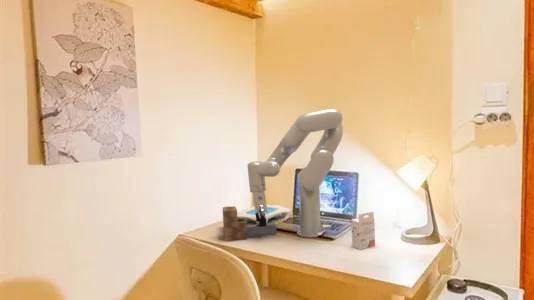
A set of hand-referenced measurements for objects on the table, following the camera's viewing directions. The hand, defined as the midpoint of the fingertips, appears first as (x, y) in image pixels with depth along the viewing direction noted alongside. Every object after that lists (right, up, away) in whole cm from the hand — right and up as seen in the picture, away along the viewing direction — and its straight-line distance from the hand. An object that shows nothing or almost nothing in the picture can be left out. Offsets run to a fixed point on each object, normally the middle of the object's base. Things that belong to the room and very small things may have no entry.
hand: (261, 223), depth 179 cm
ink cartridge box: (+43, -6, -20) cm, 48 cm away
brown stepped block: (-13, -6, +5) cm, 16 cm away
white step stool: (0, -4, +25) cm, 26 cm away
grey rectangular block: (-1, -6, 0) cm, 6 cm away
